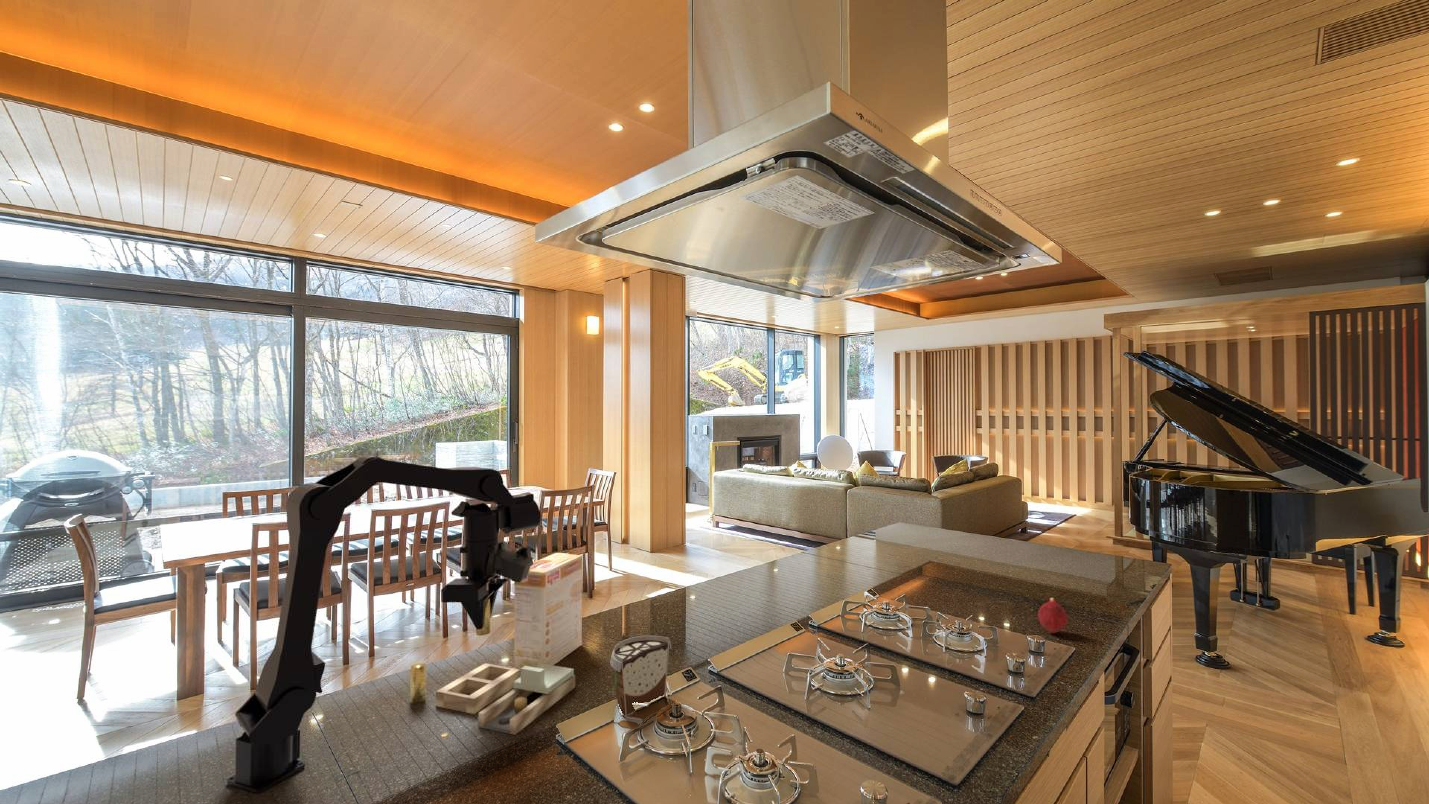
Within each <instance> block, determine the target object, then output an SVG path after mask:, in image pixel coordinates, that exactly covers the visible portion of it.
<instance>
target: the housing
mask: <svg viewBox="0 0 1429 804" xmlns="http://www.w3.org/2000/svg"><path fill="white" fill-rule="evenodd" d="M575 687H576V674H574V675H572V676H571V677H570V678H568V679H567V680H566V681H564V682H563V683H562V684H560V685H559V686H558V687H556V688H555V689H554V690H552V691H551V692H550V693H548V694H544V693H542V695H541V696H539V697H537V699H535V700H534V701H533V702H531V703H529V704H528V698H527V697H529V696H530V695H531V694H533V693H534V691H528V690H523V689H518V688H512V689H511V690H509V691H508V692H506V693H505V694H503V695H502V696H500V697H499V698H497V699H496V700H494V701H493V702H491V703H490V705H487V706H486V708H485V707H484V708H483V709H481V710H480V711H478V716H477V717H478V720H477V721H478V723H477V724H478V728H481V729H487V730H491V731H495V732H500V733H504V734H510V735H513V736H516V735H517V734H518V733H519V732H520V731H522V730H523V729H524V728H526V726H528V725H530V724H531V723H532V722H533V721H534V720H536V719H537V718H538V717H539V716H541V715H542V714H543V713H544V712H545V711H547V710H548V709H550V708H551V707H552V706H553V705H554V704H556V703H557V702H559V700H561V699H562V698H564V697H565V696H566V695H567V694H569V692H571V691H573V689H575Z"/></svg>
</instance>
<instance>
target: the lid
mask: <svg viewBox="0 0 1429 804" xmlns="http://www.w3.org/2000/svg"><path fill="white" fill-rule="evenodd" d="M572 675H575V668H572V667H565V666H560V665H559V666H558V665H555V664H554V665H548V664H542V663H541V664H540V665H538V666H537V667H529V666H524V667H522V668H521V670H520V678H518V679H517V680H515V681H514V682H513V688H512V689H515V688H518V689H523V690H528V691H534V692H535V693H540V694H548V693H550V692H551V691H552V690H554V689H555V688H556V687H558V686H559V685H560V684H562V683H563V682H564V681H566V680H567V679H568V678H570V677H571V676H572ZM534 692H533V693H534Z"/></svg>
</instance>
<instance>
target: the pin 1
mask: <svg viewBox="0 0 1429 804" xmlns="http://www.w3.org/2000/svg"><path fill="white" fill-rule="evenodd" d="M426 686H427V664H426V663H425V662H417V663H414V664H412V665H411V666H410V685H409V687H410V688H409V691H410V694H409V702H410V704H413V705H417V704H422V703H423V702H425V701H426V694H427V693H426V692H427V691H426V689H427V687H426Z"/></svg>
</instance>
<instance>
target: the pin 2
mask: <svg viewBox="0 0 1429 804" xmlns="http://www.w3.org/2000/svg"><path fill="white" fill-rule="evenodd" d="M490 633H491V618H490V598H488V599H487V603H486V611H485V619H484V625H483V628H482V629H476V628H475V634H476V635H477V636H486V635H489V634H490Z"/></svg>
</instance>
